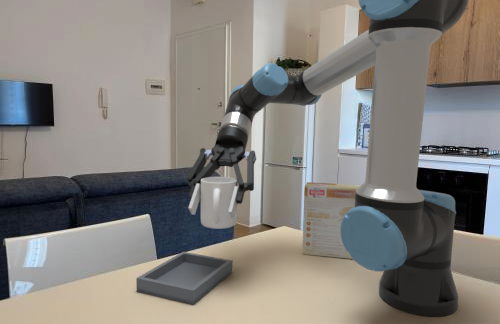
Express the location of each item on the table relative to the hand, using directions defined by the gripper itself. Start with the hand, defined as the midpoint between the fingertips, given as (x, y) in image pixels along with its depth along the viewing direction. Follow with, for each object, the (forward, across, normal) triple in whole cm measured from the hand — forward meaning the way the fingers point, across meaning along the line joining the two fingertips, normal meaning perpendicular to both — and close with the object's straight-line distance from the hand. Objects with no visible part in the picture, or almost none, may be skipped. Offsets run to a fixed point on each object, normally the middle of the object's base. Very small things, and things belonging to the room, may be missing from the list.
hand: (211, 213), depth 81 cm
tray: (+11, +6, -13) cm, 18 cm away
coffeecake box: (-9, -25, -33) cm, 42 cm away
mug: (+1, 0, -5) cm, 5 cm away
